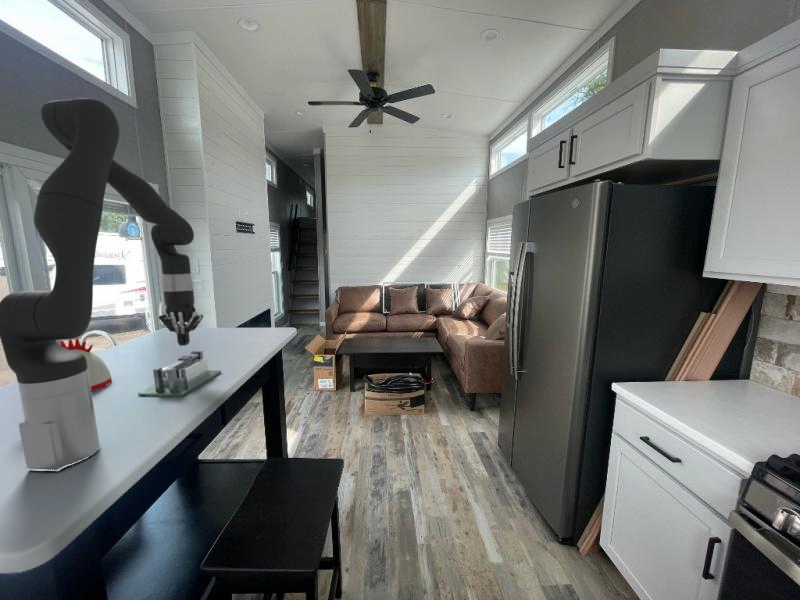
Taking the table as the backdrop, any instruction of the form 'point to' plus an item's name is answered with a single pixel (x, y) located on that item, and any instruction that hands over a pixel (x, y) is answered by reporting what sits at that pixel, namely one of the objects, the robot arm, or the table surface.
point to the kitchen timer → (91, 364)
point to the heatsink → (181, 378)
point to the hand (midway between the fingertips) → (184, 344)
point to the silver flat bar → (179, 362)
